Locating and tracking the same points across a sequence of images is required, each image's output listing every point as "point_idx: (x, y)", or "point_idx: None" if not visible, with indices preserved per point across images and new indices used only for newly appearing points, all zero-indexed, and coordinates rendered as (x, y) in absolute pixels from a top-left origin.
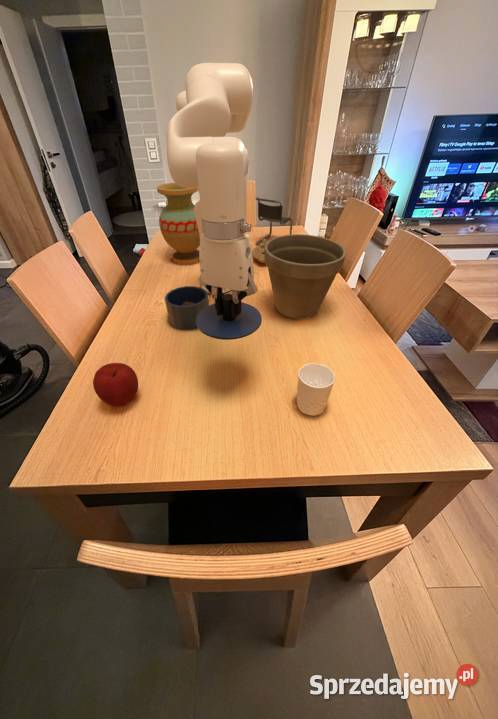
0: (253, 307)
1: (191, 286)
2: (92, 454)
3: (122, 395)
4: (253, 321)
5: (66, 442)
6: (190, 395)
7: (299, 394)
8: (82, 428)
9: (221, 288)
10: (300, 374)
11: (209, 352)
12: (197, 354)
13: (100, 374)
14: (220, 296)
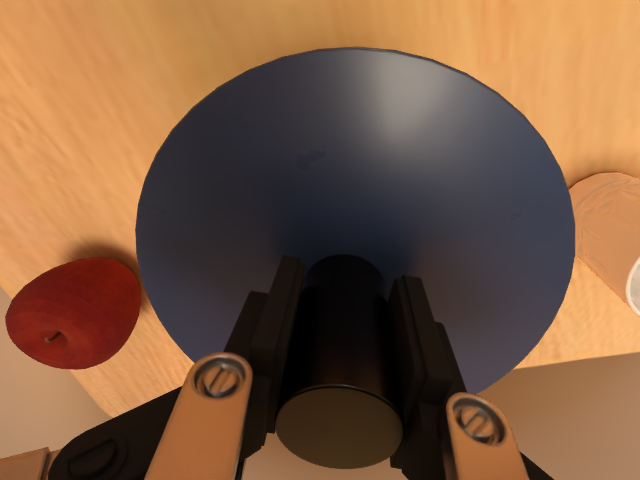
0: (513, 125)
1: None
2: (165, 380)
3: (125, 342)
4: (512, 298)
5: (107, 369)
6: None
7: (587, 264)
8: None
9: (239, 445)
10: (627, 247)
11: (221, 31)
12: (185, 57)
13: (32, 352)
14: (265, 425)
